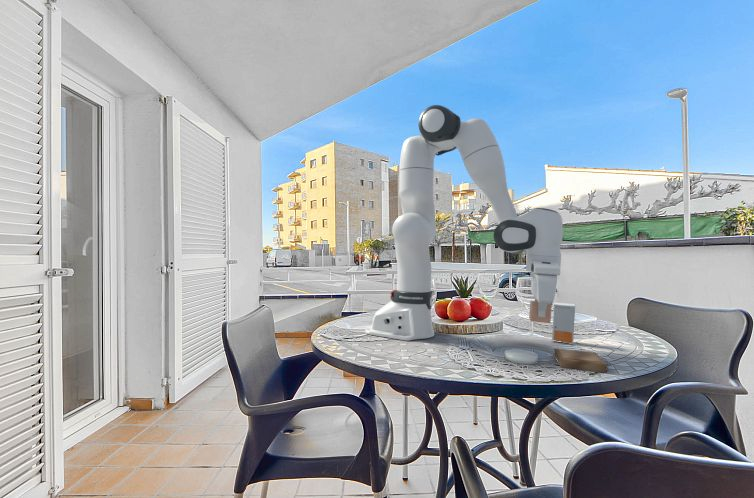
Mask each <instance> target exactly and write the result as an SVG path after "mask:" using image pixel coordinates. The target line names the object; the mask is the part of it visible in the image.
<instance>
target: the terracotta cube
mask: <svg viewBox="0 0 754 498" xmlns="http://www.w3.org/2000/svg"><path fill="white" fill-rule="evenodd" d="M552 305H553V304H547V308H546V313H545V317H539V316H538V302H537V301H535V300H530V301H529V314H528V315H529V317H528V318H529V320H530V322H535V323H542V324H543V323H544V324H551V321H552V307H553V306H552Z"/></svg>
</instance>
